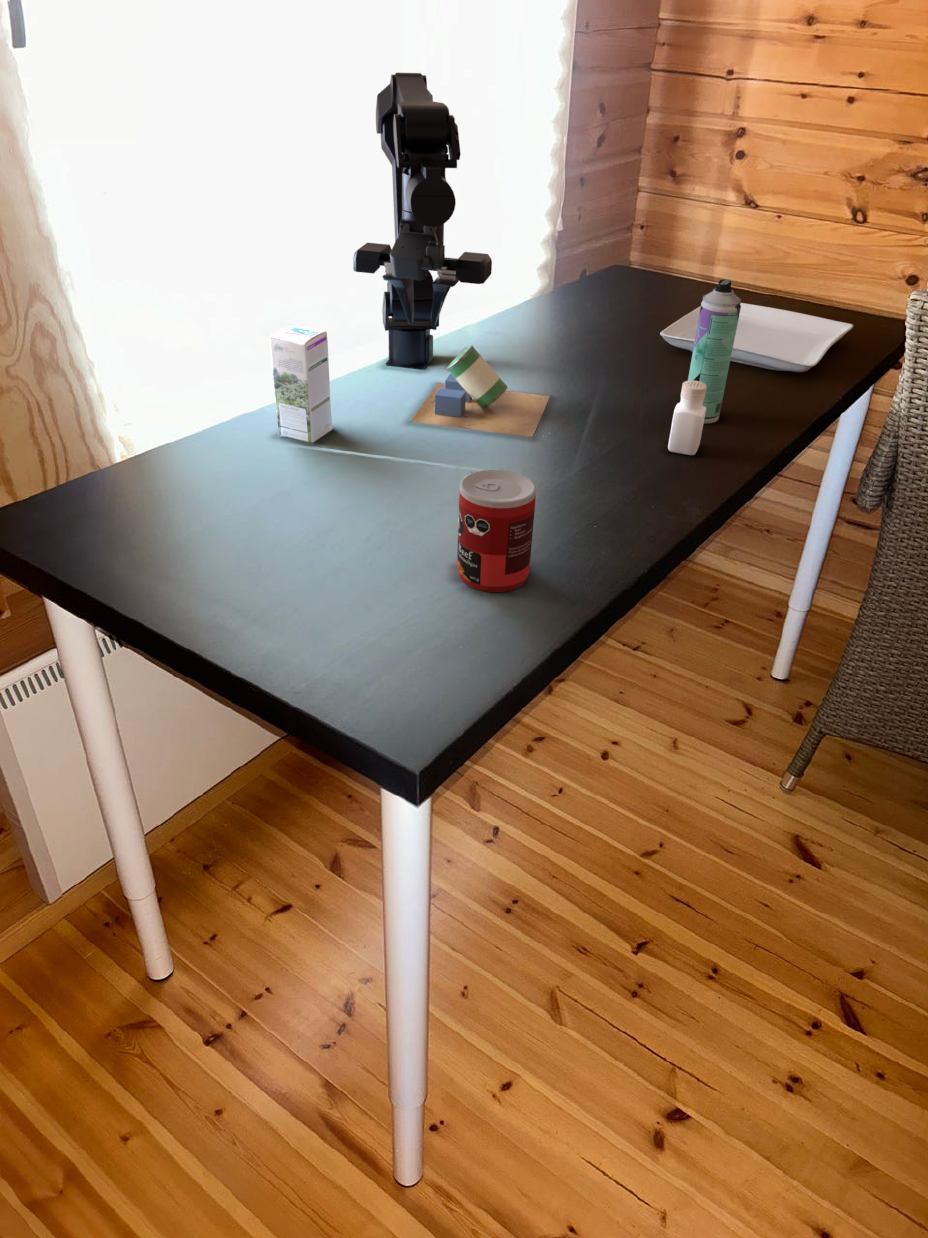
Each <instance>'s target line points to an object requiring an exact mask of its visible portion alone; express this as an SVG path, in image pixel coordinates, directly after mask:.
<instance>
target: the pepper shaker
mask: <svg viewBox="0 0 928 1238" xmlns="http://www.w3.org/2000/svg"><path fill="white" fill-rule="evenodd" d="M706 388H707V387H706V384H704V383H702V382H699V381H691V380H690V381H688V380H685V381H683V382H682V385H681V392H680V401H679V402H677V403H676V405H675V407H674V410H673V415H672V420H671V428H670V432H669V438H668V444H667V449H668V451H669V452H671V453H676V454H681V455H687V456H688V455H689V456H695V455H696V453H697V452H698V450H699V448H700V445H701V439H702V434H703V429H704V425H705V423H704V419H705V413H706V407H704V406H703V400H704V398H705V392H706Z"/></svg>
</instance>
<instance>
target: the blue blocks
mask: <svg viewBox="0 0 928 1238" xmlns="http://www.w3.org/2000/svg"><path fill="white" fill-rule="evenodd" d="M444 384H445V388H440V389H439V390H438V392H437V393H436V394H435V414H437V415H445V416H453V417H461V416H462V415H463V413H464V411H465V407H466V402H471V400H472V398H471V396H470V395H469V394H468V393H467V392H466V391H465V390H464V388H463V387H462V386H461V385H460V384H459V383H458V381H457V380H456V379H455V378H454V377H453V376H452V375H451V373H449V374H448V376H447V377H446V379H445V380H444Z"/></svg>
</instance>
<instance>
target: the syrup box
mask: <svg viewBox="0 0 928 1238" xmlns="http://www.w3.org/2000/svg"><path fill="white" fill-rule="evenodd" d="M328 342H329V341H328V332H327V331H326V330H321V329H316V328H310V327H305V326H302V325H301V326H300V325H294V324H290V325H287V326H284V327H282V328H280V329H278V330H277V331H275V332H274V333H273V334H271V335H269V348H270V359H271V367H272V378H273V379H272V381H273V390H274V401H275V412H276V421H277V422H276V423H277V433H278V434H277V435H278V437H280V438H289V439H293V440H297V441H301V442H306V443H310V444H314V443H315V442H316V441H318V440H320V438H322V437H323V436H325V435H327V434H329V432H331V431H332V430H333V416H332V402H331V401H332V400H331V385H330V383H331V382H330V363H329V360H330V359H329V343H328Z"/></svg>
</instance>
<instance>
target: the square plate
mask: <svg viewBox="0 0 928 1238" xmlns="http://www.w3.org/2000/svg"><path fill="white" fill-rule="evenodd" d="M740 305H741V309H740V314H739V319H738V324H737V329H736V334H735V339H734V344H733V349H732V354H731V359H730V362H735V363H738V364H744V365H748V366H752V367H758V368H763V369H766V370H771V371H780V372H793V373H805V372H808V371H809V370H810V369H812V368H813V367H815V366H816V365H817V364H818V363H819V362H820V361H821V360H822V359H823V357H824V356H825V355H826V353H827V352H828V350H829V349H830V348H831V347H832V346H833V345H834V344H836V343H837V342H838V341H839V340H841V339H842V338H843V337H844V336H846V334H847V333H849V331H851V330H852V329H853V328H854V324H853V323H849V322H843V321H838V320H834V319H828V318H824V317H820V316H815V315H811V314H806V313H801V312H796V311H792V310H787V309H781V308H776V307H769V306H764V305H758V304H752V303H744V302H741V303H740ZM700 308H701V305H700V306H698V307H697V308H695V309H693V310H692V311H690V312H689V313H687V314H685V315H683V316H682V317H681V318H679V319H678V320H676V321H674V322H673V323H672V324H670V325H669V326H667V327H666V328H665V329H663V330H662V331H660V333H659V335H660V336H661V337H662V339H663V340H664V341H665V342H666V343H668V344H669V345H671V346H674V347H676V348H679V349H682V350H688V351H690V352H691V353H693V348H694V342H695V337H696V331H697V325H698V320H699V314H700Z"/></svg>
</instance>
